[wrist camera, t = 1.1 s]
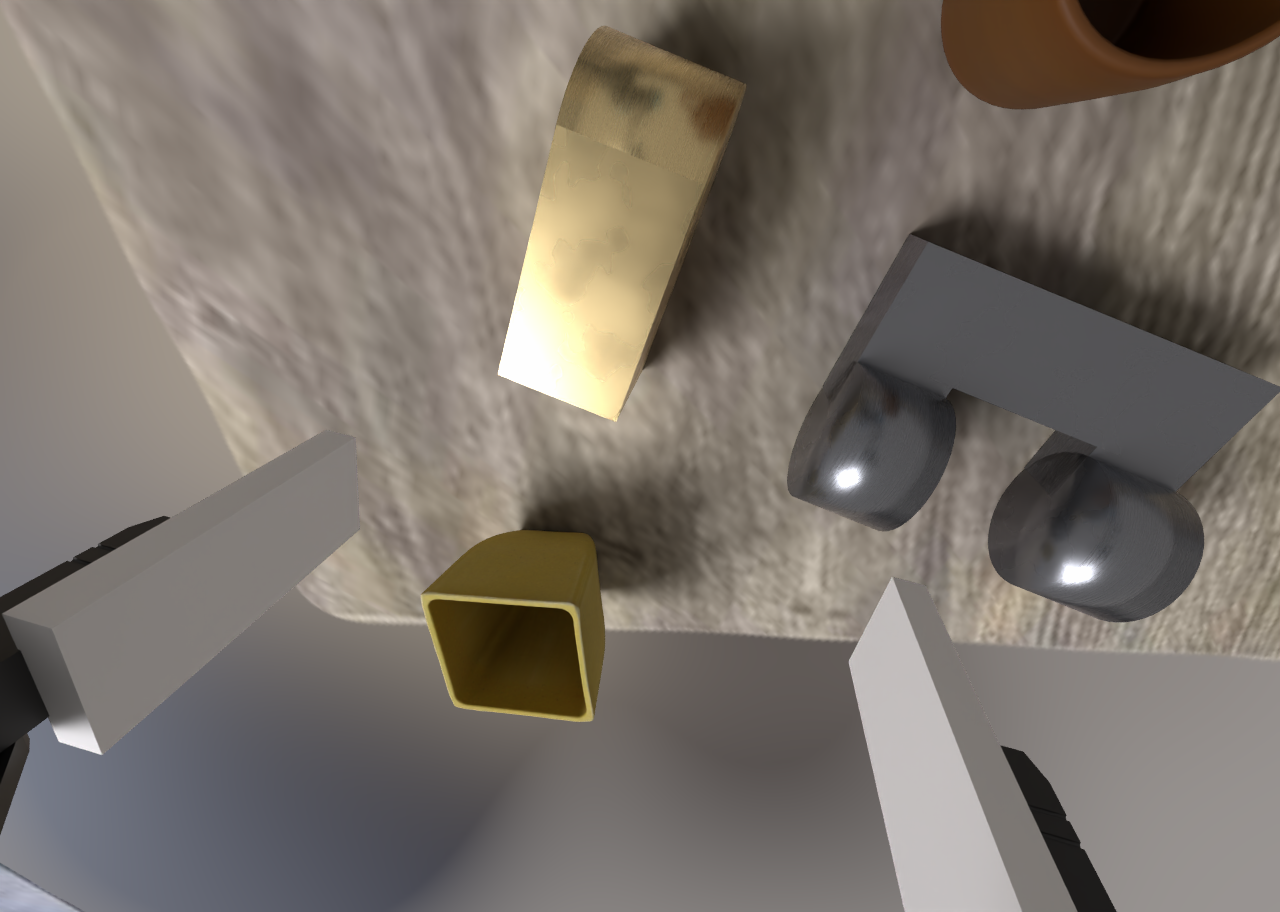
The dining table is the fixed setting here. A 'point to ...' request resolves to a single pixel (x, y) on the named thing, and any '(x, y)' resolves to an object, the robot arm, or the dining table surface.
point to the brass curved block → (615, 217)
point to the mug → (1094, 45)
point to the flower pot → (521, 625)
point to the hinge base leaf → (1045, 393)
